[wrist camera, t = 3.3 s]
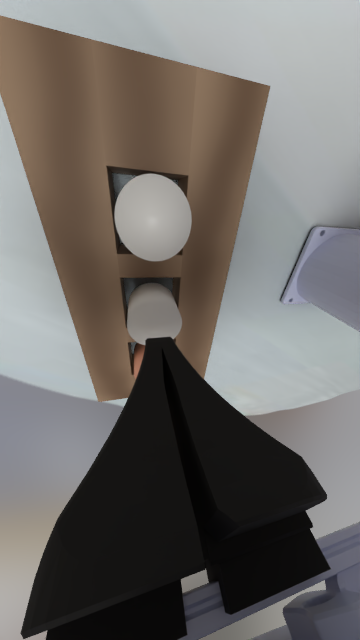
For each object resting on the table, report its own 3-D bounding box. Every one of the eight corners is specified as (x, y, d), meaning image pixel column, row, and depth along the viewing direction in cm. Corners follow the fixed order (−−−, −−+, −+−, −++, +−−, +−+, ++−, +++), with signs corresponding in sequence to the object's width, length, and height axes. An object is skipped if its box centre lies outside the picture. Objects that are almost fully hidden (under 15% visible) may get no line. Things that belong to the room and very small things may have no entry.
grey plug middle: (175, 282, 13) (184, 300, 11) (172, 321, 15) (180, 344, 13) (126, 282, 13) (124, 302, 10) (130, 323, 15) (129, 348, 12)
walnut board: (240, 110, 11) (270, 86, 9) (195, 368, 24) (201, 387, 22) (18, 62, 9) (-27, 8, 6) (102, 379, 22) (98, 401, 19)
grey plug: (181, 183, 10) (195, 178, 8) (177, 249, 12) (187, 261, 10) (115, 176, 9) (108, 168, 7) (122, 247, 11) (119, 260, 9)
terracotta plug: (169, 334, 18) (175, 356, 15) (168, 359, 20) (173, 382, 17) (132, 337, 17) (132, 360, 14) (135, 363, 19) (135, 387, 16)
